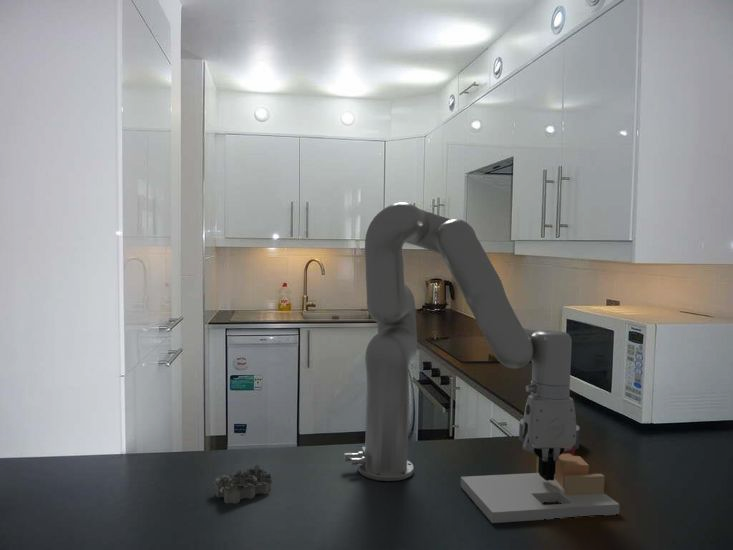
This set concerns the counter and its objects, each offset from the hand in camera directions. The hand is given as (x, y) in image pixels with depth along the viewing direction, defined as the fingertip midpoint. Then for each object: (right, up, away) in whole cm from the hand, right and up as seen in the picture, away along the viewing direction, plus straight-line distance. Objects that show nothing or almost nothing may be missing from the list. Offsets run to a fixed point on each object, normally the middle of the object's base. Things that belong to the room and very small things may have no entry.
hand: (546, 477), depth 112 cm
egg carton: (-62, -2, -4) cm, 62 cm away
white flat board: (-3, -3, -4) cm, 6 cm away
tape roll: (+11, -3, +32) cm, 34 cm away
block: (+5, -1, 0) cm, 5 cm away
